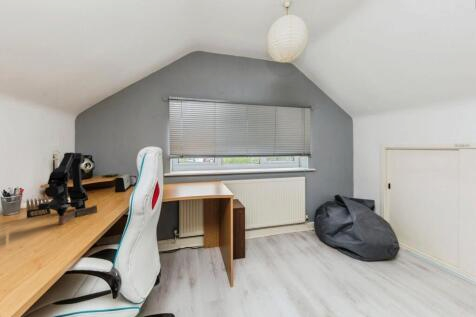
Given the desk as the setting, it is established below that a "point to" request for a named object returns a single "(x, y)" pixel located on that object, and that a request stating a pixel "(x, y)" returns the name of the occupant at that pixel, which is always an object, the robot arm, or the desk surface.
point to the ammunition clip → (36, 208)
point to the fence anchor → (85, 211)
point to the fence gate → (66, 218)
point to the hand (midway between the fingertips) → (61, 218)
